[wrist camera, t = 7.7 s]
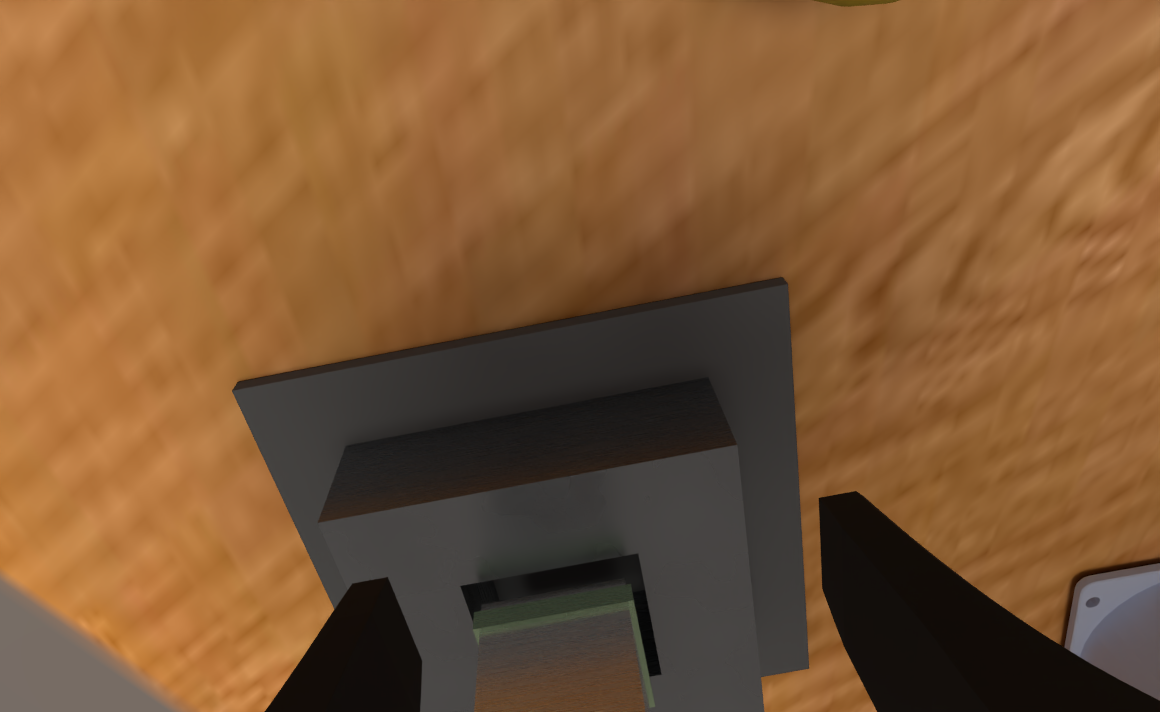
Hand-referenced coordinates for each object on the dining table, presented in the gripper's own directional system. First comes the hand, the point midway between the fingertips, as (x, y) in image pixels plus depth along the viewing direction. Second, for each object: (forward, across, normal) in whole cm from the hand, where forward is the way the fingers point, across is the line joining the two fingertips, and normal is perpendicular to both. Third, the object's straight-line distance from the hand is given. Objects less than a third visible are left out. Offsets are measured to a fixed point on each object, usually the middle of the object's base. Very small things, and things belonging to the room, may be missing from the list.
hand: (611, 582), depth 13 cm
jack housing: (+10, +2, +8) cm, 13 cm away
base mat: (+10, +2, +8) cm, 13 cm away
